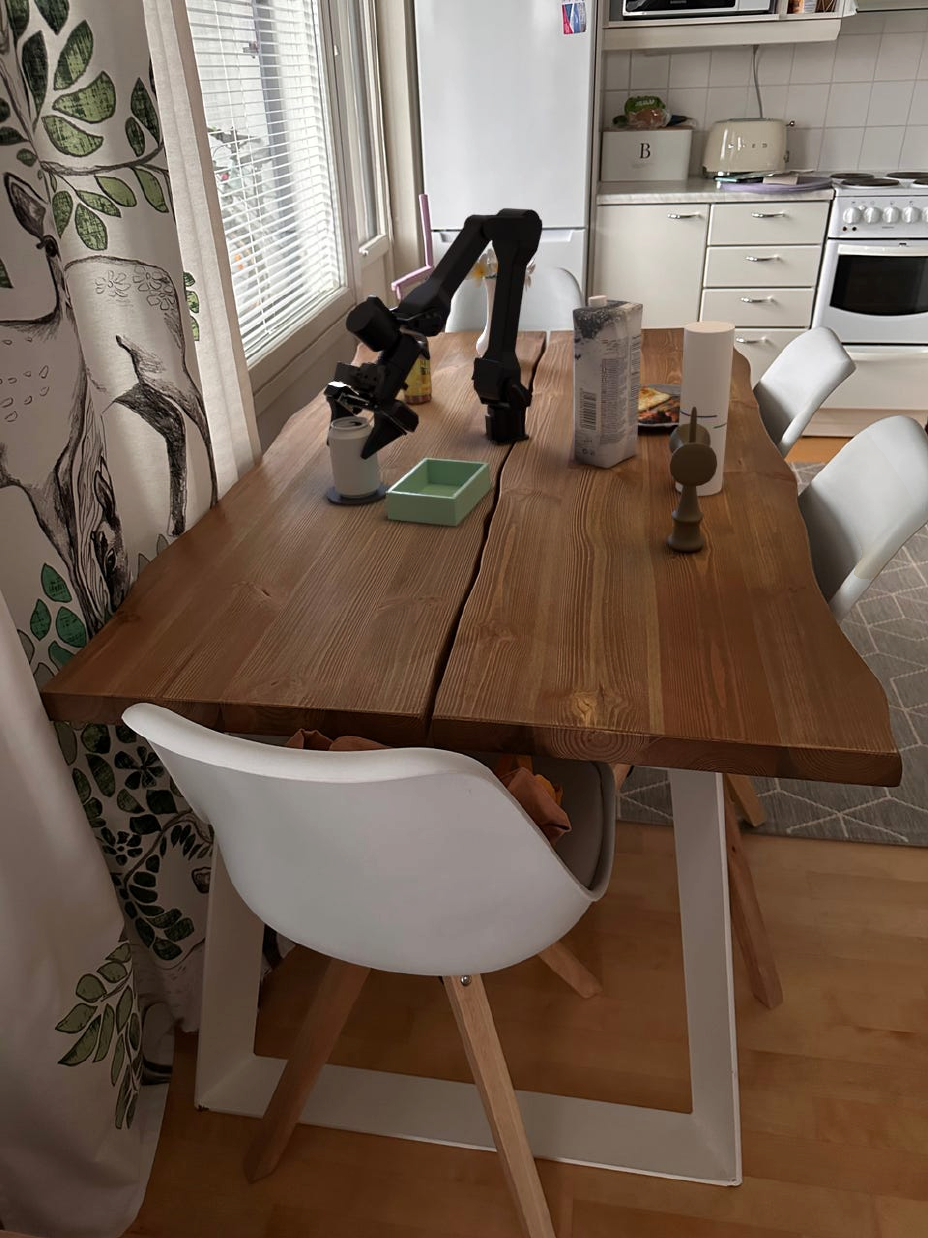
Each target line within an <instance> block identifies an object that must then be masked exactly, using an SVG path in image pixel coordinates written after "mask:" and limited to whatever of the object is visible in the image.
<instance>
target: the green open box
mask: <svg viewBox="0 0 928 1238" xmlns="http://www.w3.org/2000/svg"><path fill="white" fill-rule="evenodd" d="M490 465H491V464H490V462H484V461H483V462H482V461H473V460H472V461H470V460H457V459H446V458H434V457H425V458H423V459H422V460H421V461H420V462H418V463H417V464H416V465H415V466H414V467H413V468H412V469H410V470H409V471H408V472H407V473H406V474H405V475H403V476H402V477H401V478H400V479H399V480H398V481H397V482H396V483H395V484H393V485H392V486H391V487H390V488H389V489H388V491H387V492H386V496H385V500H386V510H387V519H388V520H392V521H401V522H411V523H422V524H430V525H440V526H446V527H447V526H448V527H449V526H450V527H457V526H458V525H459V524H460V523H461V522H462V521H463V520H464V518H465V517H466V516H467V515H468V514H469V513H470V512H471V511H472V510H473V509H474V508H475V507H476V505H478V503H479V502H480V501H481V500H482V499H483V498H484V497H485V496H486V494H488V493H489V491H490V490H491V489H492V487H491V485H492V484H491V466H490Z"/></svg>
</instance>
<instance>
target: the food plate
mask: <svg viewBox="0 0 928 1238" xmlns="http://www.w3.org/2000/svg"><path fill="white" fill-rule="evenodd" d="M680 399H681V384H670V383H669V384H667V383H643V384H639V407H638V427H644V428H649V429H651V428H652V429H653V428H661V429H662V430H664V428H667V429H668V428H671V427H672V426H675V425H676V426H677V427H679V417H680Z"/></svg>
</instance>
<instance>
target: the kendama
mask: <svg viewBox="0 0 928 1238" xmlns="http://www.w3.org/2000/svg"><path fill="white" fill-rule="evenodd" d="M710 444H711V441H710V434H709V432H708V431H707V429H706V428H705V427H703V426H701V425H700V424H697V409H696V407H695V406H694V407H693V408H692V412H691V419H690V423H688V424H682V425H681V426H677V427H675V429H673V431H672V433H671V434H670V436H669V441H668V445H669V446H668V447H669V452H670V453H671V457H670V460H669V472H670V475H671V477H672V478H673V480H674V482H675V483H676V482H678V483H679V484H681V485H683V487H682V491H681V492H680V497H679V500H678V503H677V506H676V508H675V509H674V510H673V511H672V513H671V519H672V520H673V529H672V533H671V534H669V536H668V537H667V544H668V546H669V547H670V548H671V549H673V550H676V551H679V552H694V551H699V550H700V549H701V548H703V547H705V546H704V545H705V539H704V538H703V536H702V534H701V522H702V521H703V520H704V514H703V512H702V510H700V506H699V501H698V496H697V490H696V486H701V485H703V484H705V483H707V482H709V481H710V480H711V479H712V477H713V476H714V475H715V472H716V468H717V456H716V454H715V452H714V451H713V449H712V448H711V447H710Z"/></svg>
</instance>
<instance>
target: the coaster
mask: <svg viewBox="0 0 928 1238" xmlns="http://www.w3.org/2000/svg"><path fill="white" fill-rule="evenodd" d="M388 490H389V489H388V487H387V485H386V484H384V483H382V482H380V486H379V488H378V489H377V490H376V491H375V493H373V494H372V495H369V496H366V497H362V498H347V497H344V496H342V495H341V494H340V493H338V492H337V491H336V490H335V486H333V487H332V488H330V489H329V490H328V492H327V494H326V495H327V496H326V497H327V500H328V501H329V502H330V503H332V504H335V505H339V506H346V507H355V506H356V507H357V506H364V505H369V504H373V503H376V502H378V501H380V500H382V499H383V498H386V492H387V491H388Z"/></svg>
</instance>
